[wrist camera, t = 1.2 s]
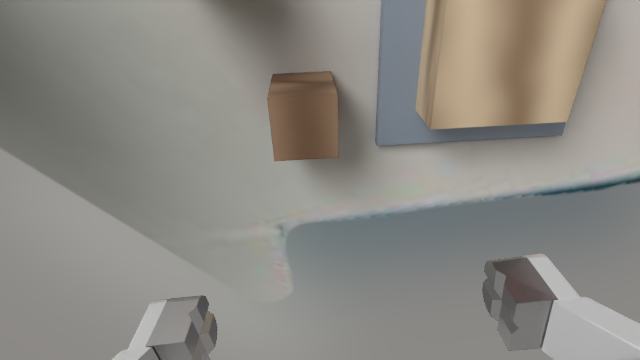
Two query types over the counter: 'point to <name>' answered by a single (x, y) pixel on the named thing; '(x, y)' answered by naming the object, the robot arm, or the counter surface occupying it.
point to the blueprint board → (402, 83)
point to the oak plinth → (503, 60)
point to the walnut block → (303, 116)
